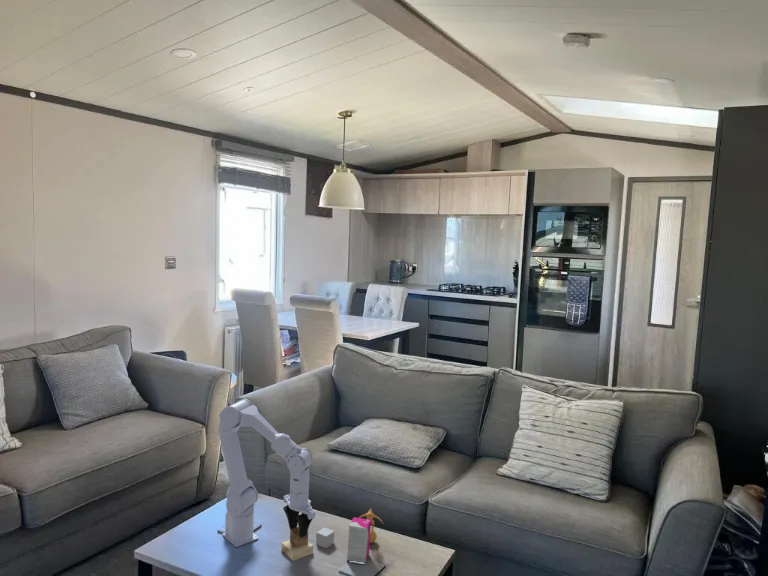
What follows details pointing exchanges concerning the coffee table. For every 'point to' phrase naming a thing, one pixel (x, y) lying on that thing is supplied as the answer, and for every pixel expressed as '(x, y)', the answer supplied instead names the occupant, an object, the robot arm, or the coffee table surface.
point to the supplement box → (359, 540)
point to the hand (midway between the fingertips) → (298, 532)
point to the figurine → (370, 517)
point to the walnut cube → (297, 538)
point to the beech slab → (296, 550)
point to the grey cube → (325, 537)
